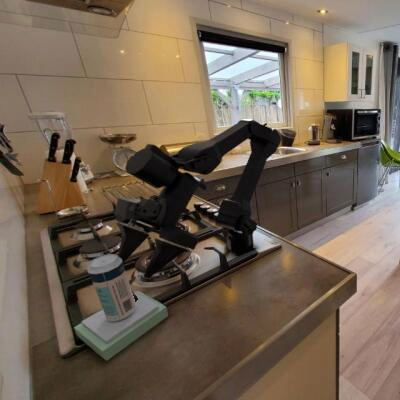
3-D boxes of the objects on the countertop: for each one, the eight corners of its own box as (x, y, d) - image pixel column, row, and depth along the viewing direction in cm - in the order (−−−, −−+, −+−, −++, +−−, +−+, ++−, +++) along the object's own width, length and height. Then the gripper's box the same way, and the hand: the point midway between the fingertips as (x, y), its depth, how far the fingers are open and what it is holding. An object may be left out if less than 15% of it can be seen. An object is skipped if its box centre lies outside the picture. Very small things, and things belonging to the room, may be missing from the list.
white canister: (138, 300, 51) (122, 250, 47) (136, 316, 47) (118, 263, 43) (109, 308, 49) (89, 256, 44) (103, 326, 45) (81, 272, 41)
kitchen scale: (142, 297, 56) (138, 286, 55) (170, 314, 52) (167, 302, 51) (78, 336, 47) (72, 324, 45) (106, 361, 42) (100, 347, 41)
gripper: (112, 172, 50) (60, 245, 45) (171, 187, 43) (117, 278, 38) (159, 196, 60) (121, 259, 55) (215, 212, 52) (176, 287, 47)
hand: (132, 269), depth 48 cm, fingers open, 9 cm apart
